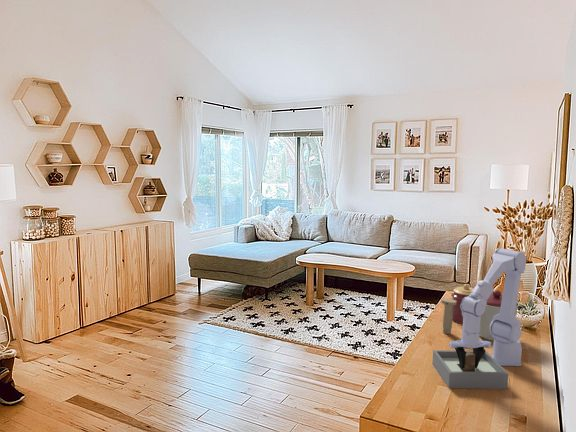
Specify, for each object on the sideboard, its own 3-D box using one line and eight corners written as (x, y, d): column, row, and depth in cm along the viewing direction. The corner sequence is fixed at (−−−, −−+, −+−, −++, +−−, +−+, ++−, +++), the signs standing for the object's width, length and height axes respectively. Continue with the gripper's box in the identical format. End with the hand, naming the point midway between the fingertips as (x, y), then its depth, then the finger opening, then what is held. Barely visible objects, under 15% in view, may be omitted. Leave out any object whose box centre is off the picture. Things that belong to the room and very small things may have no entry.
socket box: (485, 364, 177) (486, 350, 176) (507, 388, 159) (508, 373, 158) (432, 364, 177) (433, 350, 176) (448, 387, 159) (449, 372, 158)
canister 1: (443, 317, 228) (446, 281, 225) (464, 313, 233) (466, 279, 230) (463, 326, 216) (466, 289, 213) (484, 322, 221) (487, 286, 218)
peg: (471, 367, 170) (472, 352, 169) (476, 373, 165) (477, 357, 165) (459, 368, 169) (460, 352, 169) (464, 373, 165) (465, 357, 164)
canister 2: (524, 346, 194) (528, 297, 191) (480, 345, 195) (484, 296, 192) (505, 329, 212) (508, 284, 209) (465, 328, 212) (468, 284, 210)
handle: (452, 336, 203) (454, 303, 201) (437, 332, 207) (439, 300, 205) (455, 333, 207) (458, 300, 205) (441, 329, 211) (443, 297, 209)
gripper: (485, 326, 170) (482, 361, 172) (446, 326, 169) (444, 362, 171) (495, 333, 163) (492, 370, 165) (454, 334, 162) (452, 371, 164)
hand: (468, 366), depth 167 cm, fingers closed on peg, 4 cm apart
